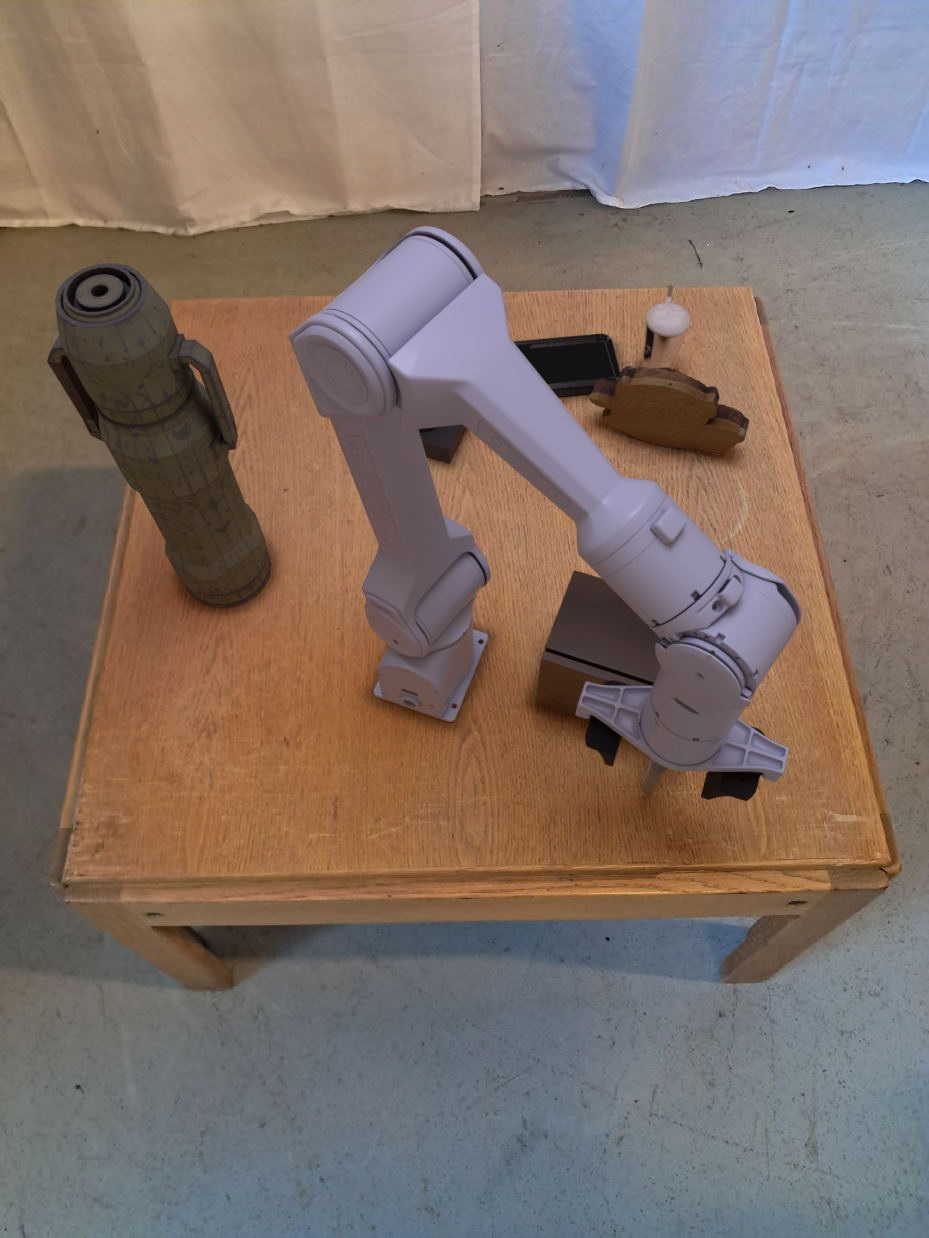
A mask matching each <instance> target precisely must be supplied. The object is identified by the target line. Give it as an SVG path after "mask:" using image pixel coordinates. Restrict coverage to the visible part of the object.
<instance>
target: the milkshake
mask: <svg viewBox="0 0 929 1238" xmlns="http://www.w3.org/2000/svg"><path fill="white" fill-rule="evenodd" d="M673 291H674V284H673V283H669V284H668V289H667V294H666V299H665V302H661V303H657V304H655V305H654V306H653V307H651V308H650V309H649V311H647V314H646V318H645V329H644V343H643V351H642V352H643V353H642V358H641V367H648V368H663V367H669V368H672V369H674V367H675V365H676V361H677V359H678V357H679V354H680V350H681V349H682V345H683V343H684V341H685V338H686V336H687V333H688V330H689V328H690V326H691V315H690V313H689V312H688V311H687V310H686V309H685V308H684V307H683V306H682V305H680V304H676V303H674V302H673V303H672V296H673Z"/></svg>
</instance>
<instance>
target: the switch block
mask: <svg viewBox="0 0 929 1238" xmlns="http://www.w3.org/2000/svg"><path fill="white" fill-rule="evenodd" d="M418 430H419V433H420V436H421V440H422V443H423V447H424V450H425V454H426V457H427V458H429V459H432V460H436V461H439V462H444V463H446V464H451V462H452V460H453V458H454V456H455V454H456V452H457V449H458V448H459V445H460V443H461V441H462V439H463V437H464V435H465V433H466V431H467V430H468V429H467V428H466V427H465V426H464V425H463V424H461V425H451V426H442V427H433V428H423V429H418Z"/></svg>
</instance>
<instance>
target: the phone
mask: <svg viewBox="0 0 929 1238" xmlns="http://www.w3.org/2000/svg"><path fill="white" fill-rule="evenodd" d="M512 341H513V342H514V344H515V345H516V346H517V347H518V349H519V350H520V351H521V352H522V354H523V355H524V356H525V357H526V359H527V360H528V361H529V362H530V364H531V365H532V366H533V367H534V368H535V370H536V371H537V372H538V373H539V375H540V376H541V377H542V378H543V380H544V381H545V382H546V383H547V385H548V386H549V387H550V388H551V390H552V391H553V392H554V393H555V394H556V396H557V397H558V398H559V397H570V396H583V395H590V394H591V393H592V391H593V388H594V385H595V383H596V382H597V381H599V380H602V379H604V380H611V381H616V382H618V379H619V375H620V372H621V370H620V366H619V363H618V358H617V353H616V351H615V346H614V343H613V339H612V338H611V336H610V335H608V334H607V333H590V334H580V335H568V336H558V337H547V338H545V337H544V338H537V339H524V340H512Z"/></svg>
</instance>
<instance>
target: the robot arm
mask: <svg viewBox="0 0 929 1238" xmlns="http://www.w3.org/2000/svg"><path fill="white" fill-rule="evenodd" d="M483 269H484V268H483V267H482V266H481V264H480V262H479V260H478V259H477V257H476V256H475V254H474V253H473V252H472V251H471V250H470V248H468V246H467V245H465V244H464V243H463V242H462V241H460V240H459V239H458V238H457V237H456V236H454V235H452V234H450V232H447V231H445V230H443V229H441V228H438V227H435V226H431V225H430V226H429V225H426V226H425V225H422V226H417V227H415V228H413V229H412V230H410V231H409V232H407V233H406V234H405V235H404V236H403V237H401V238H400V239H399V240H397V241H396V242H395V243H393V245H391V246H390V247H389V248H388V249H387V250H386V251H384V252H383V253H382V254H381V255H380V256H379V257H378V259H377V260H376V261H375V262H374V263H373V264H372V265H371V266H370V267H369V268H368V269H367V270H366V271H365V272H364V273H363V274H362V275H360V276H359V277H358V278H357V279H356V280H355V281H354V282H352V283H351V284H350V285H349V286H347V288H346V289H344V290H343V291H341V293H339V294H338V295H337V296H336V297H335V298H334V299H332V300H331V301H330V302H329V303H328V304H327V305H326V306H324V307H323V308H322V309H321V310H320V311H318V312H317V313H316V314H312V315H310V316H309V317H308V318H307V319H305V320H304V321H303V322H302V323H300V324H299V325H298V326H297V327H296V328H295V329H293V330H292V331H291V332H289V334H288V340H289V342H290V345H291V347H292V350H293V353H294V355H295V358H296V360H297V363H298V365H299V368H300V371H301V373H302V376H303V379H304V380H305V383H306V386H307V389H308V391H309V393H310V395H311V398H312V400H313V403H314V405H315V408H316V410H317V413H318V414H319V415H320V416H321V417H322V418H325V419H327V418H328V419H329V421H330V424H331V426H332V429H333V431H334V433H335V436H336V438H337V441H338V444H339V446H340V449H341V451H342V455H343V457H344V459H345V461H346V465H347V467H348V470H349V472H350V475H351V477H352V479H353V483H354V485H355V487H356V490H357V494H358V495H359V498H360V500H361V503H362V506H363V508H364V511H365V513H366V516H367V520H368V521H369V524H370V526H371V529H372V532H373V534H374V536H375V539H376V542H377V544H378V549H377V551H376V554H375V555H374V558H373V560H372V563H371V564H370V566H369V569H368V572H367V574H366V576H365V578H364V581H363V583H362V586H361V591H362V593H363V596H364V597H365V604H364V612H365V618H366V620H367V622H368V624H369V626H370V627H371V629H372V630H373V631H374V633H375V634H376V635H377V636H378V637H379V638H380V639H381V641H383V642H384V643H385V644H386V647H385V649H384V652H383V654H382V656H381V659H380V660H379V663H378V665H377V669H376V673H377V677H378V679H377V682H376V684H375V686H374V688H373V695H374V696H375V697H376V698H378V699H381V700H384V701H387V702H390V703H393V704H394V705H395V704H396V705H399V706H401V707H404V708H407V709H410V710H413V711H416V712H418V713H422V714H425V715H427V716H430V717H432V718H436V719H438V720H441V721H444V722H447V723H453V722H455V721H456V719H457V717H458V715H459V712H460V709H461V707H462V705H463V702H464V700H465V697H466V694H467V692H468V690H469V687H470V685H471V683H472V680H473V678H474V675H475V673H476V671H477V668H478V665H479V663H480V661H481V658H482V656H483V653H484V651H485V648H486V646H487V643H488V641H489V635H488V634H487V633H486V632H483V631H480V630H476V629H474V610H473V609H474V606H473V605H474V603H475V600H476V599H477V598H478V594H477V593H478V592H479V591H480V590H481V589H482V588H484V587H486V586H487V584H488V583H490V581H491V578H492V571H491V568H490V565H489V562H488V561H489V560H488V558H487V557H486V556H485V554H484V552H483V550H481V548H480V547H479V546H478V545H477V542H476V541H475V540H476V539H475V536H474V533H473V532H472V531H471V530H470V529H468V528H467V527H466V526H464V525H462V524H461V523H459V522H457V521H456V520H454V519H452V518H449V517H447V516H445V515H444V513H443V511H442V510H443V509H442V507H441V503H440V499H439V496H438V492H437V489H436V486H435V482H434V479H433V475H432V471H431V468H430V463H429V462H428V457H426V454H425V450H424V447H423V443H422V440H421V436H420V433H419V430H418V429H423V428H433V427H442V426H451V425H461V424H463V425H464V426H465V427H466V428H467V429H466V430H468V431H469V432H471V433H472V434H473V435H474V436H475V437H476V438H477V439H478V440H480V441H481V442H482V443H483V444H485V445H486V446H487V447H488V448H489V449H490V450H491V451H493V452H494V453H495V454H496V455H497V456H498V457H500V459H502V460H503V461H504V462H505V463H506V464H508V465H509V467H511V468H512V469H513V470H515V471H516V472H517V473H518V474H519V476H521V477H522V478H523V479H525V480H526V481H527V482H528V483H530V484H531V485H532V486H533V487H534V488H535V489H536V490H537V491H539V492H540V493H541V494H542V495H543V496H544V497H546V498H547V499H548V500H549V501H550V502H551V503H553V504H554V506H556V507H557V508H558V509H559V510H561V512H563V513H564V514H565V515H566V516H568V518H569V519H571V520H572V521H573V522H574V524H575V528H576V549H577V550H576V551H577V554H578V556H579V557H580V558H581V559H582V560H583V561H584V562H585V563H586V564H587V565H588V566H589V568H591V569H592V571H594V572H595V573H596V574H597V575H598V577H599V578H602V579H603V580H604V581H605V582H606V583H607V584H608V585H609V586H610V587H611V588H612V589H613V590H614V591H615V592H616V593H617V594H618V595H619V596H620V597H621V599H622V600H623V601H624V602H625V603H626V604H627V605H628V606H629V607H630V608H631V609H632V610H633V611H634V612H635V613H636V614H637V615H638V616H639V617H640V618H641V619H642V620H643V621H644V622H645V623H646V624H647V625H648V626H649V627H650V628H651V629H652V630H653V631H654V632H655V633H656V634H657V635H658V636H659V637H660V638H661V639H663V641H662V642H661V644H659V643H656V645H655V653H656V657H657V659H658V661H659V663H660V665H661V667H660V669H659V672H658V674H657V677H656V679H655V682H654V684H653V686H632V685H629V684H626V683H623V682H619V681H616V680H610V681H607V682H605V683H604V684H603V685H600V684H595V683H591V682H588V681H586V682H585V684H584V687H583V690H582V693H581V696H580V699H579V702H578V705H577V709H576V714H575V715H576V716H579V717H582V718H585V719H589V718H590V717H591V718H590V721H589V722H588V725H587V728H586V730H585V734H584V742H585V747H587V748H589V749H591V750H593V751H597V752H598V753H599V754H600V756H601V758H602V759H603V763H604V766H605V765H606V766H608V767H611V768H613V767H614V763H615V761H616V759H617V754H618V751H619V748H620V745H621V742H622V738H624V739H625V740H626V741H628V743H630V744H631V745H633V746H634V747H636V748H637V749H638V750H639V751H641V752H642V753H643V754H645V756H648V758H651V759H653V760H654V761H655V762H657V763H659V764H660V765H662V766H664V767H666V768H667V769H670V770H673V771H678V772H706V774H705V778H704V782H703V786H702V789H701V793H700V799H701V798H702V799H704V800H707V801H708V800H709V801H710V800H715V799H718V798H725V797H730V798H734V799H737V800H739V801H744V802H747V801H749V800H750V799H752V797H754V796H755V794H756V793H757V790H758V786H759V782H760V777H762V778H763V779H764V780H766V781H769V782H773V783H777V782H778V781H779V779H780V778H782V776H783V775H784V774H785V771H786V766H787V763H788V758H789V753H790V747H789V746H786V745H783V744H781V743H778V742H777V741H774V740H772V739H770V738H769V737H767V736H766V734H765V733H764V732H763V731H762V730H761V729H760V728H758V727H756V726H752V725H749V724H748V723H747V722H745V721H744V720H742V719H741V718H740V717H741V715H742V714H743V713H744V711H745V709H746V708H747V707H748V706H750V705H751V704H752V701H751V700H752V699H753V697H754V695H755V693H756V691H757V690H758V688H759V686H760V685H761V684H762V682H763V681H764V679H765V678H766V676H767V675H768V673H769V672H770V670H771V668H773V666H774V665H775V663H776V662H777V660H778V658H779V657H780V655H781V654H782V653H783V651H784V650H785V648H786V646H787V645H788V643H789V642H790V641H791V639H792V637H793V636H794V634H795V632H796V630H797V627H798V626H799V625H800V623H801V620H802V608H801V605H800V602H799V600H798V599H797V597H796V595H795V594H794V593H793V591H792V590H791V589H790V588H789V586H788V585H787V583H786V582H785V581H784V580H783V579H782V578H781V577H780V576H779V575H776V574H775V573H773V572H772V571H771V570H769V569H768V568H767V569H766V568H765V567H763V566H761V565H758V564H756V563H753V562H750V561H749V560H747V559H746V558H744V557H743V556H742V555H741V554H740V553H739V552H737V551H736V552H735V551H734V550H733V549H731V548H727V549H724V550H721V549H720V548H719V547H718V545H717V544H716V543H715V542H714V541H713V540H712V539H711V538H710V537H709V536H708V535H707V534H706V533H705V532H704V530H702V529H701V528H700V527H699V525H698V524H697V523H696V522H695V521H694V520H693V519H692V518H691V517H690V516H689V515H688V514H687V513H686V511H684V510H683V508H682V507H680V505H678V504H677V502H676V500H674V499H673V498H672V497H671V495H669V493H667V492H666V491H665V490H664V488H663V487H662V486H660V484H659V483H658V482H656V481H655V480H652V479H646V478H635V477H627V476H623V475H621V474H620V473H619V471H618V470H617V468H615V465H613V464H612V463H611V461H610V460H609V459H608V458H607V456H606V455H605V454H604V452H602V450H601V449H600V447H598V445H597V444H596V443H595V441H594V440H593V439H592V437H591V436H590V435H589V434H588V433H587V432H586V430H585V429H584V428H583V427H582V425H581V424H580V423H579V422H578V420H577V418H575V417H574V416H573V414H572V413H571V412H570V411H569V409H568V408H567V407H566V405H565V404H564V403H563V402H562V401H561V399H560V398H559V397H557V396H556V394H555V393H554V392H553V391H552V390H551V388H550V387H549V386H548V385H547V383H546V382H545V381H544V380H543V378H542V377H541V376H540V375H539V373H538V372H537V371H536V370H535V368H534V367H533V366H532V365H531V364H530V362H529V361H528V360H527V359H526V357H525V356H524V355H523V354H522V352H521V351H520V350H519V349H518V347H517V346H516V345H515V344H514V342H513V341H514V340H513V339H512V337H511V334H510V331H509V324H508V323H509V322H508V315H507V306H506V301H505V296H504V293H503V290H502V288H501V286H499V284H497V282H495V281H494V280H493V279H492V278H490V276H488V275H486V273H485V272H484V270H483ZM479 642H482V643H479ZM453 706H456V708H453Z"/></svg>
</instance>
